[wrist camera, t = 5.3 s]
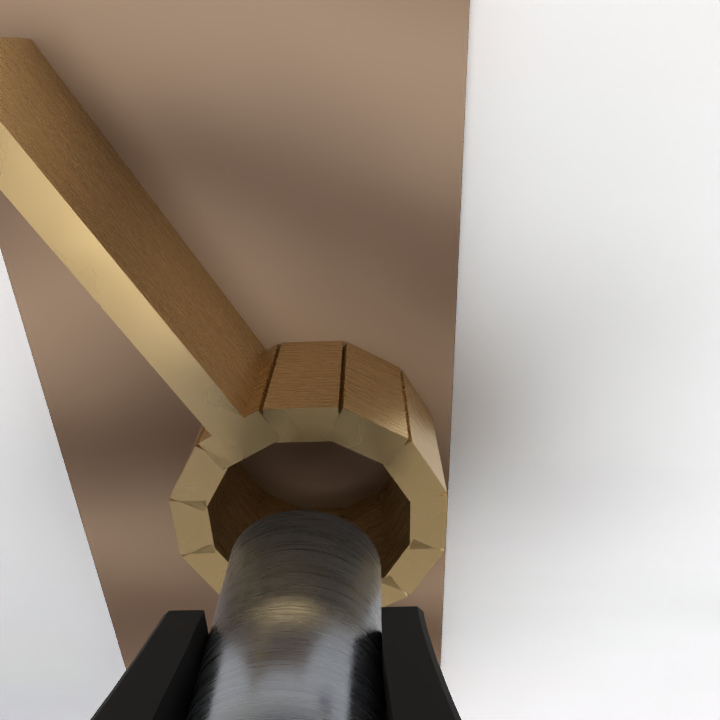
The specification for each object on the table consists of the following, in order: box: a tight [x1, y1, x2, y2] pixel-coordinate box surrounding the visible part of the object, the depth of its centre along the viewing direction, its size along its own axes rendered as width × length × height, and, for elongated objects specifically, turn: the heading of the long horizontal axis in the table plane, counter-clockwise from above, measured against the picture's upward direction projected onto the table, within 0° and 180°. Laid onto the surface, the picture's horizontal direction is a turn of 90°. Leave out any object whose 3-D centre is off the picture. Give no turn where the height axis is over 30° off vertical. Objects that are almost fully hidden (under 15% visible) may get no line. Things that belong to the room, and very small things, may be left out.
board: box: [0, 0, 470, 670], centre depth 17 cm, size 23×10×1 cm, turn 2°
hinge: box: [0, 37, 448, 607], centre depth 15 cm, size 21×9×3 cm, turn 2°
